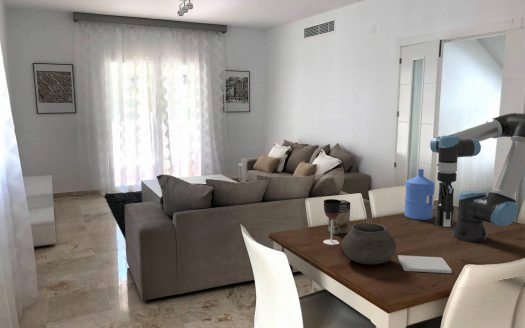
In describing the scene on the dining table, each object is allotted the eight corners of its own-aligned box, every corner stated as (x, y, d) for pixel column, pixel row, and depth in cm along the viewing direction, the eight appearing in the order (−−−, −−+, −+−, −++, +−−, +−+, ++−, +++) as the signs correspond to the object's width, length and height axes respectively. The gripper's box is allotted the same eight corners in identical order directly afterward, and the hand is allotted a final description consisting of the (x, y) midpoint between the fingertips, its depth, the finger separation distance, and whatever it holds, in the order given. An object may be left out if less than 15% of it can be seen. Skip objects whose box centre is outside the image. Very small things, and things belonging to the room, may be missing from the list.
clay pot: (362, 275, 164) (363, 237, 162) (332, 256, 183) (333, 223, 181) (406, 266, 173) (408, 230, 170) (373, 250, 192) (374, 217, 190)
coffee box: (333, 234, 214) (334, 203, 212) (327, 231, 220) (328, 200, 218) (349, 232, 217) (350, 202, 215) (343, 229, 223) (344, 199, 221)
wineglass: (341, 240, 205) (343, 200, 202) (337, 246, 197) (338, 204, 194) (325, 238, 208) (326, 198, 205) (320, 243, 200) (321, 202, 198)
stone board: (441, 260, 179) (442, 257, 179) (451, 273, 166) (451, 270, 166) (397, 258, 182) (398, 255, 182) (403, 270, 168) (403, 267, 168)
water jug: (406, 219, 242) (409, 171, 238) (402, 212, 257) (404, 167, 253) (435, 221, 239) (438, 172, 235) (429, 213, 255) (432, 167, 251)
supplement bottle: (451, 228, 181) (453, 200, 179) (434, 225, 184) (435, 198, 182) (453, 224, 186) (455, 197, 184) (437, 221, 190) (438, 195, 188)
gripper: (432, 168, 192) (429, 217, 195) (444, 175, 173) (441, 230, 176) (449, 168, 191) (447, 217, 194) (463, 176, 171) (460, 230, 175)
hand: (444, 223), depth 185 cm, fingers closed on supplement bottle, 7 cm apart
